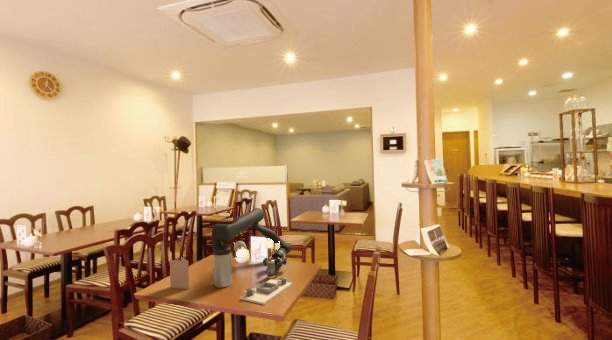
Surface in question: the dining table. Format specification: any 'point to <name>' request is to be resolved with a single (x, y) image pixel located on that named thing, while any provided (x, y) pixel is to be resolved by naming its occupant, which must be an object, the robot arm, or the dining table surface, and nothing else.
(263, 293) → the stand
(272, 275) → the cylinder
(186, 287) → the greeting card
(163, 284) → the dining table surface
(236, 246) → the donut
